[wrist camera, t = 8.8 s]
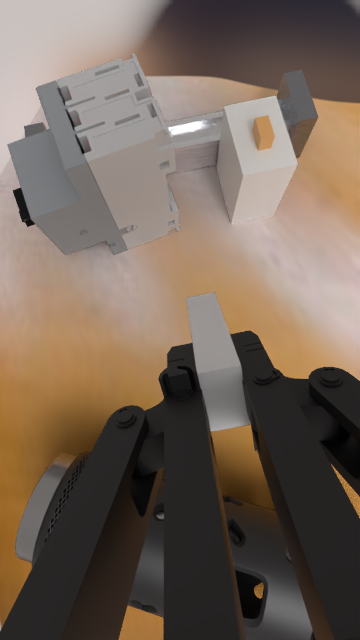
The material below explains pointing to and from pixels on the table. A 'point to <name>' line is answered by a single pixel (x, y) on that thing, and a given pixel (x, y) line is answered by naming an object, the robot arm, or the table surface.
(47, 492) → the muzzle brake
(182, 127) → the din rail
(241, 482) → the table surface
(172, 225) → the circuit breaker
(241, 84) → the table surface
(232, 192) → the mounted module
